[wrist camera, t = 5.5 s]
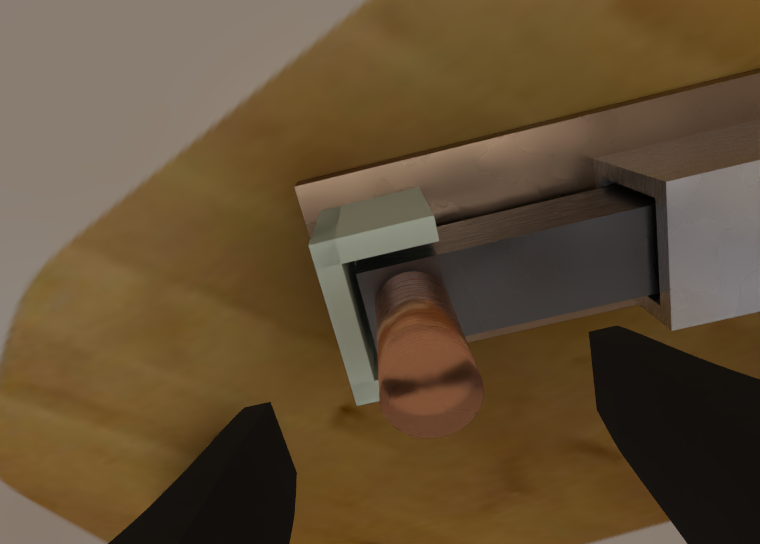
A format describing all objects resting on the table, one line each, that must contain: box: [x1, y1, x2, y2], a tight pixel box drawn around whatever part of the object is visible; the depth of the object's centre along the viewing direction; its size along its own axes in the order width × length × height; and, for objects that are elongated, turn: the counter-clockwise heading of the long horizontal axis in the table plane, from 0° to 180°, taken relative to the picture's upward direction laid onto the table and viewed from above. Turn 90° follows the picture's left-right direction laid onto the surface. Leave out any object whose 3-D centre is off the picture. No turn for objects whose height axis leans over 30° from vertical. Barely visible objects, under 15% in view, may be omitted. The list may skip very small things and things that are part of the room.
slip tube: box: [356, 184, 660, 438], centre depth 15 cm, size 3×12×8 cm, turn 104°
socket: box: [308, 187, 439, 406], centre depth 18 cm, size 6×4×4 cm, turn 13°
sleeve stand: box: [295, 69, 760, 343], centre depth 18 cm, size 8×20×6 cm, turn 104°
